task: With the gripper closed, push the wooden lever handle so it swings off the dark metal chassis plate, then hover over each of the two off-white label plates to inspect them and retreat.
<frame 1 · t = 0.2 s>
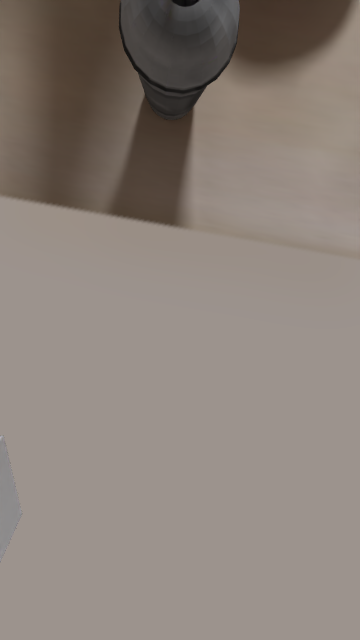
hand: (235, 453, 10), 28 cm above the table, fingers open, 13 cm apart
beverage cup: (171, 93, 32), on the table
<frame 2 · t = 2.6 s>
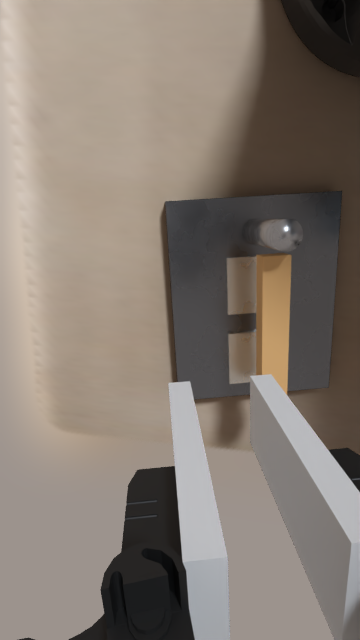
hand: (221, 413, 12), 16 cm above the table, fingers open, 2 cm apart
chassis: (250, 299, 28), on the table
wooden lever handle: (272, 342, 24), point 5 cm above the table, hinge at 0.0°
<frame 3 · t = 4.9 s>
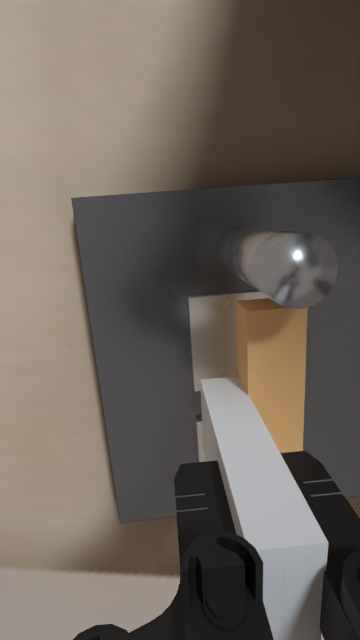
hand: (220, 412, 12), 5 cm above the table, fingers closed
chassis: (234, 360, 17), on the table
wooden lever handle: (269, 464, 12), point 5 cm above the table, hinge at 0.0°, touching gripper
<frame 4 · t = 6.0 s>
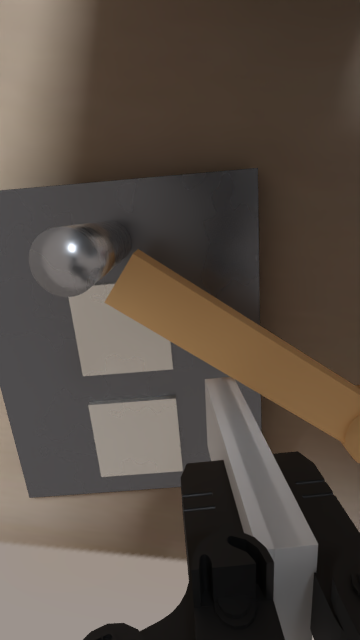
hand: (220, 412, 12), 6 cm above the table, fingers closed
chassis: (130, 347, 18), on the table
wooden lever handle: (267, 363, 12), point 5 cm above the table, hinge at 53.0°, touching gripper
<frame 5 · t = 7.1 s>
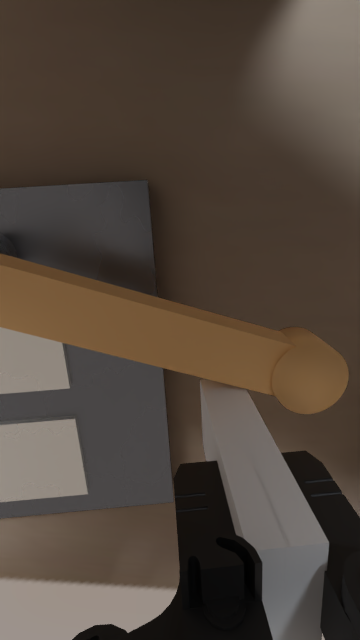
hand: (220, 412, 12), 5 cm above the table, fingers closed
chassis: (30, 364, 17), on the table
wooden lever handle: (165, 332, 11), point 5 cm above the table, hinge at 69.8°, touching gripper
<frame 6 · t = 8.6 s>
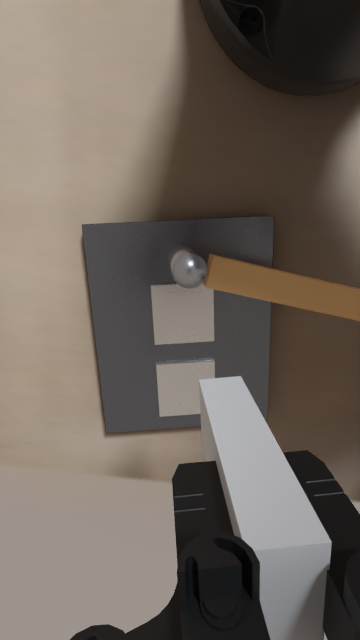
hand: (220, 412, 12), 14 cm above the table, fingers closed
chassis: (182, 327, 27), on the table
wooden lever handle: (303, 291, 21), point 5 cm above the table, hinge at 74.5°
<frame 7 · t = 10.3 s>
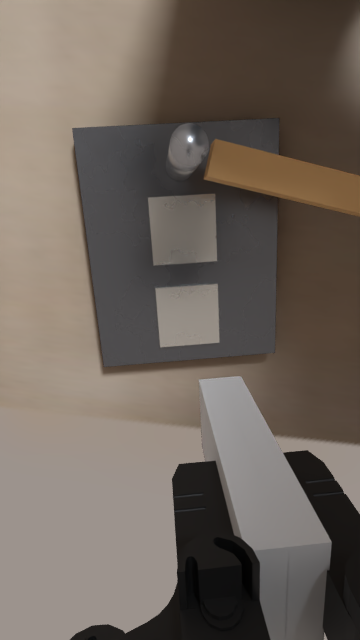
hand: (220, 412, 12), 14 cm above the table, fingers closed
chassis: (183, 251, 25), on the table
wooden lever handle: (313, 185, 19), point 5 cm above the table, hinge at 74.5°
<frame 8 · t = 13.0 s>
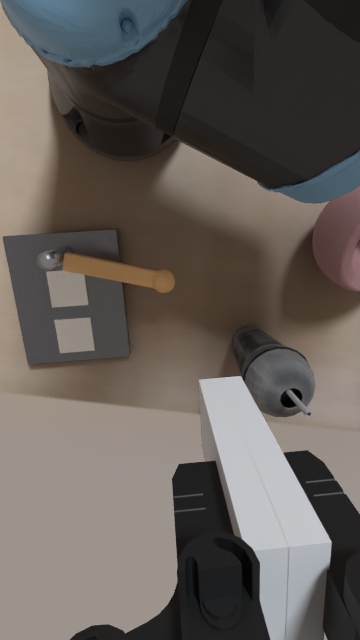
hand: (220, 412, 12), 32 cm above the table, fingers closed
beverage cup: (247, 341, 47), on the table
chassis: (72, 298, 43), on the table
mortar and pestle: (341, 235, 44), on the table
wooden lever handle: (120, 272, 37), point 6 cm above the table, hinge at 74.5°
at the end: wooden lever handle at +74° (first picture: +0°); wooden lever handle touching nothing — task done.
